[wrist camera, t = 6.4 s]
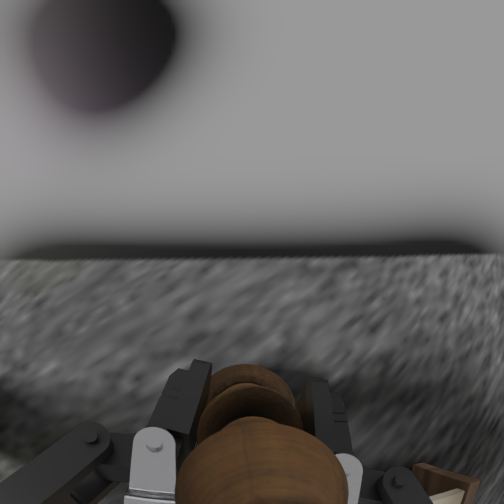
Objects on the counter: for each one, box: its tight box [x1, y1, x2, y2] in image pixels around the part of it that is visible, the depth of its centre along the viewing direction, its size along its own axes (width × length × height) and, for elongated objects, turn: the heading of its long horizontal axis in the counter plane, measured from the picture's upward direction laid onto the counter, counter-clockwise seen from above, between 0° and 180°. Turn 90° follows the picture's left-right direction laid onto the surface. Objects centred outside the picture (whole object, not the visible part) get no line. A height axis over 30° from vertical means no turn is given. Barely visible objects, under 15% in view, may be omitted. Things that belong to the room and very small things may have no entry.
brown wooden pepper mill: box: [175, 364, 349, 504], centre depth 11 cm, size 7×6×18 cm
